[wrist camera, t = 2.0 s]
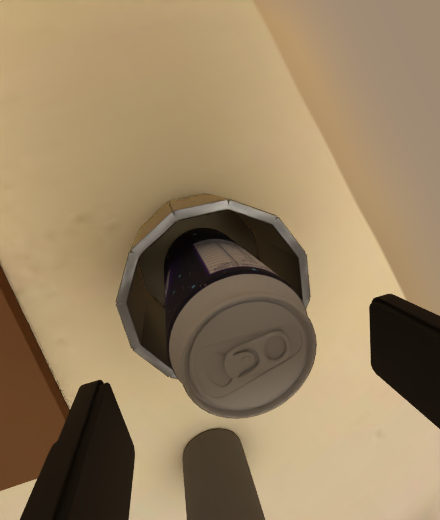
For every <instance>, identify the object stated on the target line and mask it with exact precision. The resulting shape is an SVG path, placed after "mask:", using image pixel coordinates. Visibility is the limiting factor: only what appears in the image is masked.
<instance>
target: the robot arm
mask: <svg viewBox="0 0 440 520" xmlns="http://www.w3.org/2000/svg"><path fill="white" fill-rule="evenodd" d="M369 311H370V347H371V366H372V368H373V370H374V372H375V373H376V374H377V375H378V376H379V377H380V378H382V379H383V380H384V381H385V382H386V383H387V384H389V385H390V386H391V387H392V388H393V389H394V390H395V391H397V392H398V393H399V394H400V395H401V396H402V397H404V398H405V399H406V400H407V401H408V402H409V403H410V404H412V405H413V406H414V407H415V408H416V409H417V410H419V411H420V412H421V413H422V414H423V415H424V416H425V417H427V418H428V419H429V420H430V421H431V422H432V423H434V424H435V425H436V426H437V427H438V428H439V429H440V316H439V315H436V314H434V313H432V312H430V311H428V310H426V309H423V308H421V307H419V306H417V305H415V304H412V303H410V302H408V301H406V300H404V299H402V298H399V297H397V296H395V295H393V294H386V295H383V296H379V297H376V298H374V299H373V300H372V303H371V304H370V307H369ZM134 460H135V451H134V445H133V442H132V440H131V437H130V434H129V432H128V429H127V427H126V424H125V422H124V419H123V417H122V414H121V411H120V409H119V406H118V404H117V401H116V399H115V396H114V394H113V391H112V388H111V386H110V384H109V383H103V381H102V380H98V381H94V382H91V383H88V384H84V385H82V386H80V388H79V390H78V392H77V395H76V397H75V400H74V402H73V404H72V407H71V409H70V412H69V414H68V416H67V419H66V421H65V424H64V426H63V428H62V431H61V433H60V436H59V438H58V441H56V442H55V443H54V444H53V445H52V447H51V449H50V451H49V453H48V455H47V458H46V460H45V462H44V465H43V467H42V469H41V472H40V474H39V476H38V479H37V481H36V483H35V486H34V488H33V490H32V493H31V495H30V497H29V500H28V502H27V504H26V507H25V509H24V511H23V514H22V516H21V518H20V520H128V519H129V509H130V499H131V490H132V480H133V470H134Z"/></svg>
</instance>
